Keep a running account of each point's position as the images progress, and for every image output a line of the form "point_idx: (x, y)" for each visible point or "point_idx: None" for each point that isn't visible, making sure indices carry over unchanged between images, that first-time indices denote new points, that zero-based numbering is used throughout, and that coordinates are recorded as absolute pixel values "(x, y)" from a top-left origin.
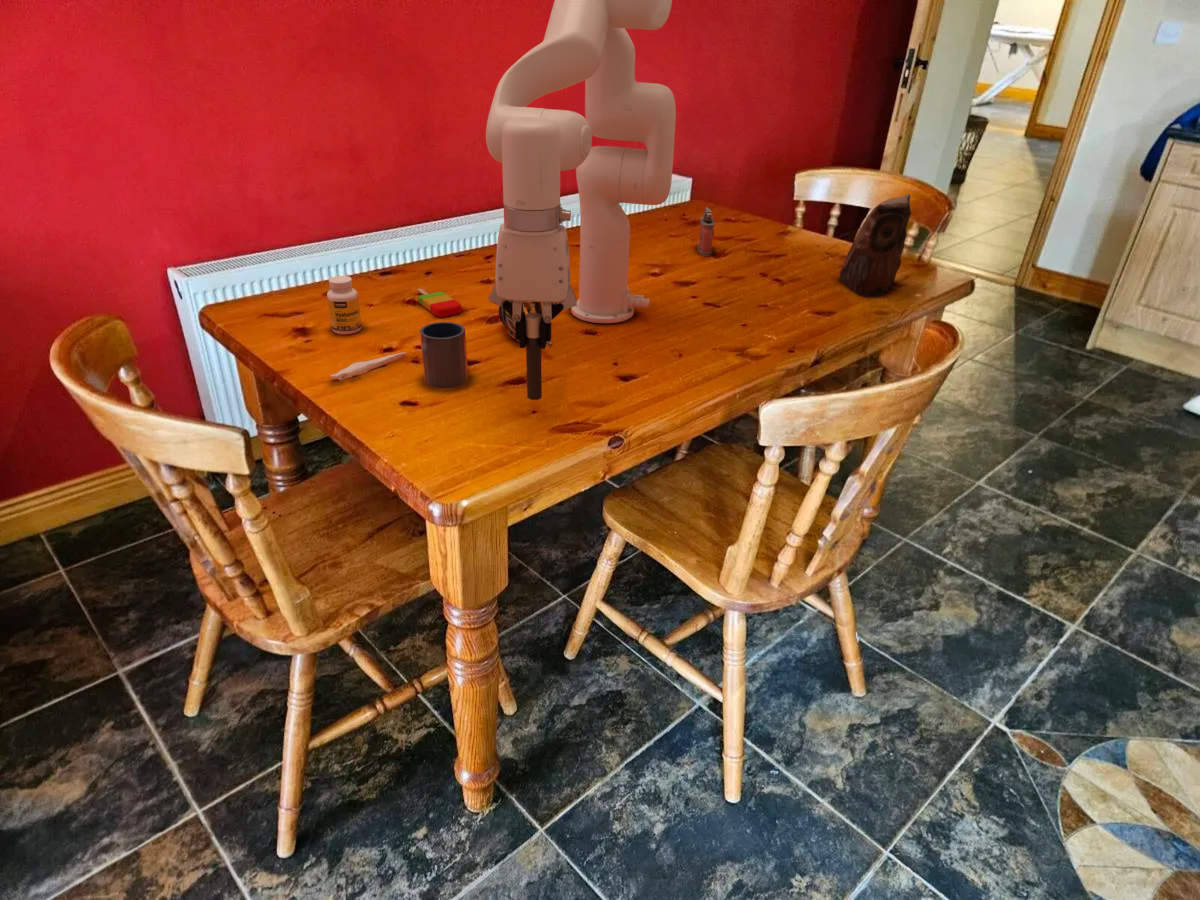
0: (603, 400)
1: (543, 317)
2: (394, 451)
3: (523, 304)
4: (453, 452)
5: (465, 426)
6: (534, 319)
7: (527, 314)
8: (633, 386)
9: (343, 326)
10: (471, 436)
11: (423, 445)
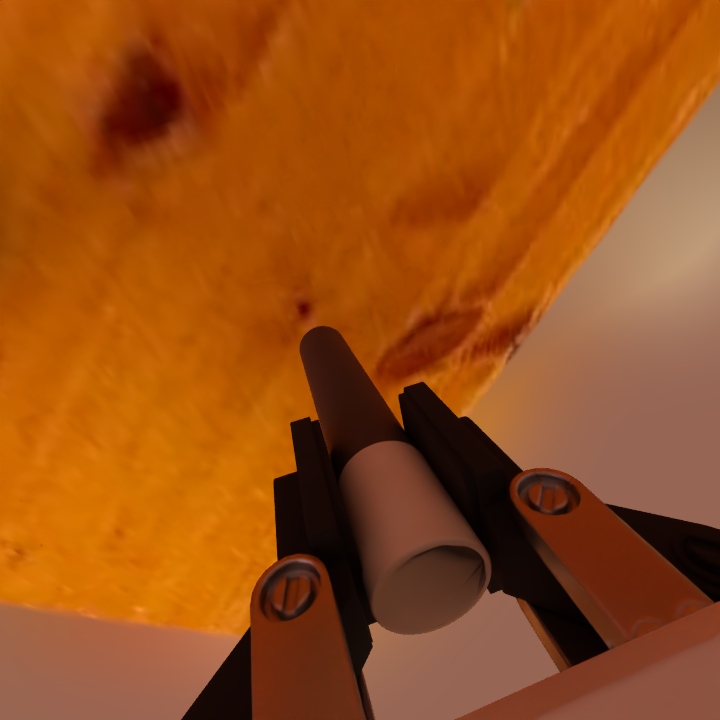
0: (470, 167)
1: (530, 620)
2: (81, 590)
3: (349, 657)
4: (210, 538)
5: (166, 445)
6: (454, 618)
7: (382, 594)
8: (548, 23)
9: None
10: (210, 475)
11: (126, 548)
